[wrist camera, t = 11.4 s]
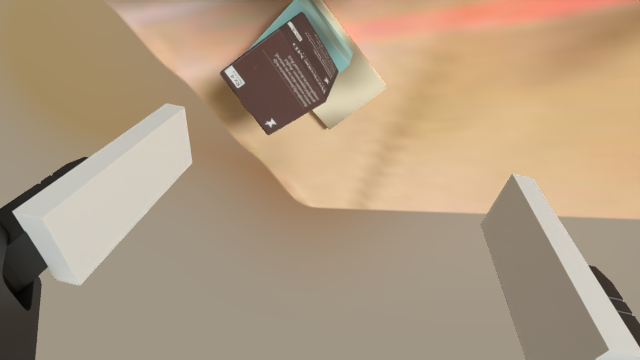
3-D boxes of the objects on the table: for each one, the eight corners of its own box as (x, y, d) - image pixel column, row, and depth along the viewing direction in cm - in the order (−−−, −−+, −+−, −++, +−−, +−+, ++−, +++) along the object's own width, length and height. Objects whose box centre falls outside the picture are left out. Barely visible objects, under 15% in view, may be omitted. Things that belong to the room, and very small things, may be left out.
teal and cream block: (258, 44, 34) (240, 57, 30) (311, -13, 30) (300, -7, 26) (330, 125, 38) (324, 146, 34) (386, 85, 34) (386, 103, 30)
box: (340, 72, 29) (328, 103, 23) (289, 102, 32) (267, 138, 26) (303, 9, 26) (279, 26, 21) (251, 48, 29) (217, 73, 23)
